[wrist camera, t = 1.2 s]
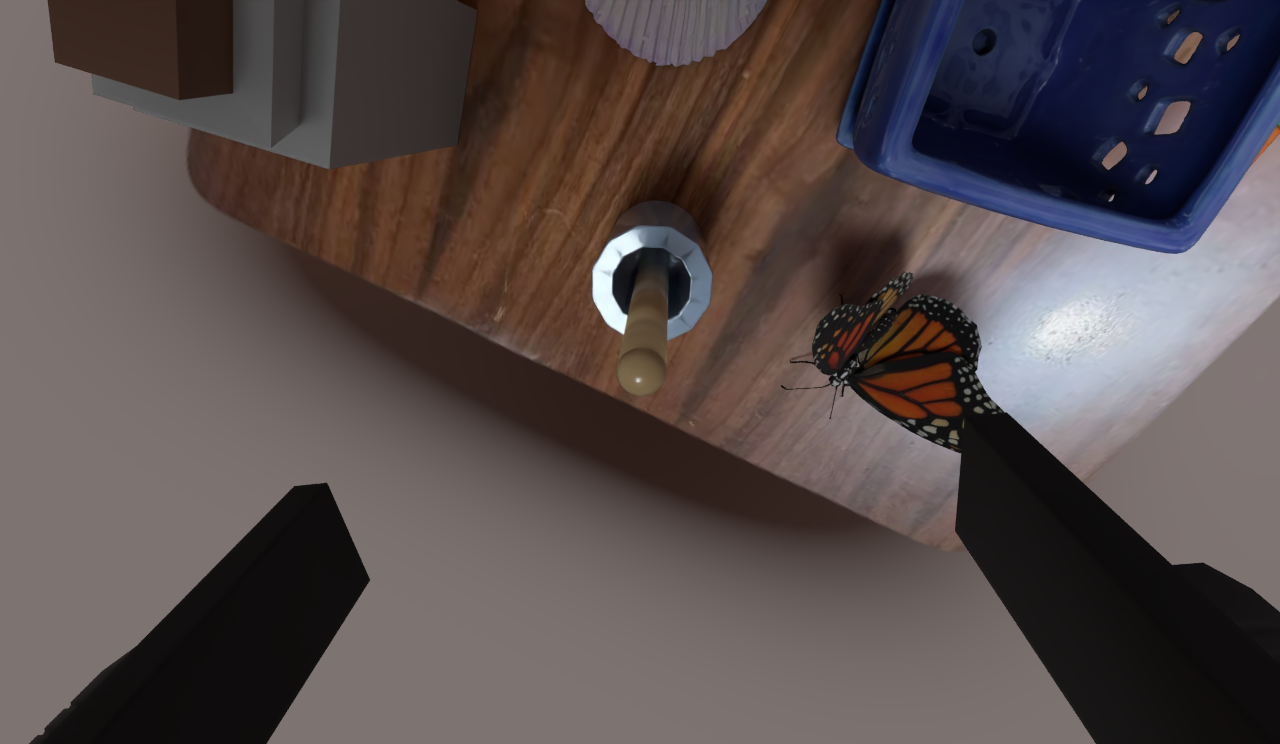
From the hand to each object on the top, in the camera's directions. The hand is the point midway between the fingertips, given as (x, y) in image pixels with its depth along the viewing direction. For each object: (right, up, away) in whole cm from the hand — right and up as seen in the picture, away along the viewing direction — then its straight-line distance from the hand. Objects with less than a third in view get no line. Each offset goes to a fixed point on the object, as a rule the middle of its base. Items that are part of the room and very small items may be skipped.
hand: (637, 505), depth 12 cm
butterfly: (+13, +5, +24) cm, 28 cm away
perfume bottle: (-12, +19, +19) cm, 30 cm away
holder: (+1, +10, +23) cm, 25 cm away
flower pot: (+17, +19, +18) cm, 31 cm away
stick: (+1, +10, +22) cm, 24 cm away
